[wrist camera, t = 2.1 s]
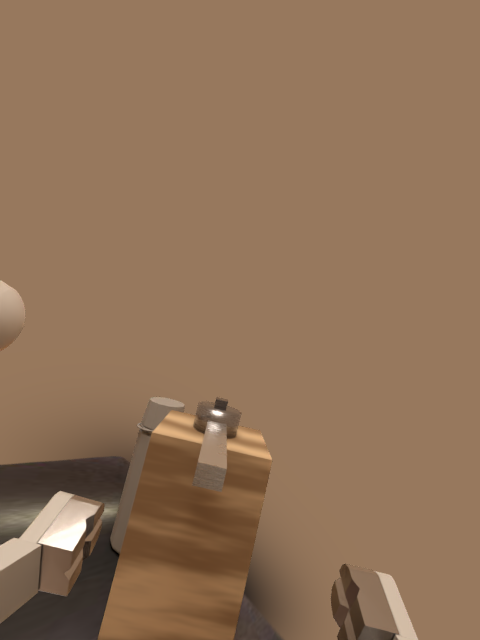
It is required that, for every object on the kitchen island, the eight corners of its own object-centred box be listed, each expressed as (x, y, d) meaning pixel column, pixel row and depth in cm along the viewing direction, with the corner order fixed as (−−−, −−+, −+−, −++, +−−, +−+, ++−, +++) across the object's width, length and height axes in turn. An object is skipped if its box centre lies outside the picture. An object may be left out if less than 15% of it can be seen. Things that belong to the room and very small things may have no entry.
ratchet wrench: (243, 497, 23) (255, 443, 24) (169, 480, 23) (183, 426, 23) (235, 429, 42) (242, 400, 43) (195, 419, 42) (202, 391, 43)
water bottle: (160, 550, 51) (195, 408, 54) (117, 566, 46) (159, 407, 48) (136, 520, 58) (168, 394, 60) (96, 531, 52) (133, 392, 55)
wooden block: (217, 713, 30) (272, 460, 33) (85, 686, 30) (151, 432, 33) (219, 610, 42) (260, 430, 45) (125, 590, 42) (171, 409, 45)
